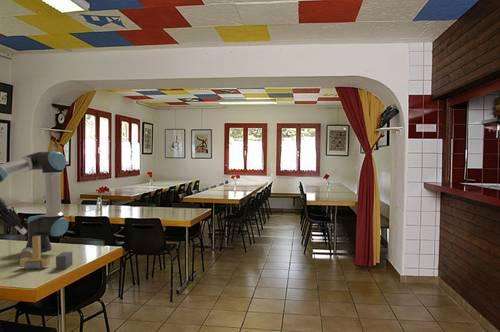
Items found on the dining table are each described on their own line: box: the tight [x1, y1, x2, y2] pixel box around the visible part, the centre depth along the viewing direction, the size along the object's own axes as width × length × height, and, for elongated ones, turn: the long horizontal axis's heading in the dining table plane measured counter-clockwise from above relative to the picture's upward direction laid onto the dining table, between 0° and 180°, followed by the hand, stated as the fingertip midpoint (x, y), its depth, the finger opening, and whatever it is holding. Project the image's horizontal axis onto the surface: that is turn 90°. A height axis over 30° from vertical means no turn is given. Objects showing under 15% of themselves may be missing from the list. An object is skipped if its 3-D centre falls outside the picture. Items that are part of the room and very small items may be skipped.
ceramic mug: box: [18, 246, 33, 260], centre depth 228 cm, size 11×8×8 cm
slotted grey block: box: [55, 251, 73, 271], centre depth 214 cm, size 10×5×7 cm, turn 6°
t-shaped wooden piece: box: [19, 236, 51, 268], centre depth 212 cm, size 4×14×16 cm, turn 95°
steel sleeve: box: [23, 262, 46, 271], centre depth 212 cm, size 7×8×4 cm
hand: (25, 233), depth 218 cm, fingers closed
